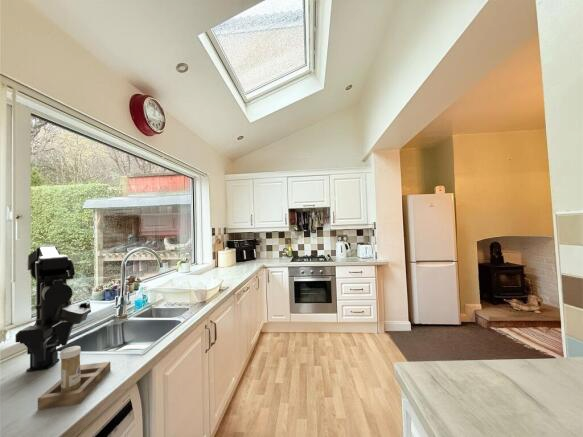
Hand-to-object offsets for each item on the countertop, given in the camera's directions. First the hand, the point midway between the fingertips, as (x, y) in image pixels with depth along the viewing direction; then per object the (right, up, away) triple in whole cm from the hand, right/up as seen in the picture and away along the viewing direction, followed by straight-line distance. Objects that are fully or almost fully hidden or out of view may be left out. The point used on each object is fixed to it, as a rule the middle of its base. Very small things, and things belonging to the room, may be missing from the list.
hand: (53, 352), depth 75 cm
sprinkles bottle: (+5, -13, 0) cm, 14 cm away
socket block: (+4, -13, +4) cm, 14 cm away
